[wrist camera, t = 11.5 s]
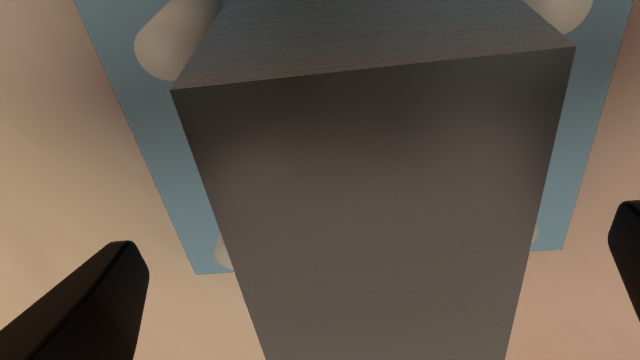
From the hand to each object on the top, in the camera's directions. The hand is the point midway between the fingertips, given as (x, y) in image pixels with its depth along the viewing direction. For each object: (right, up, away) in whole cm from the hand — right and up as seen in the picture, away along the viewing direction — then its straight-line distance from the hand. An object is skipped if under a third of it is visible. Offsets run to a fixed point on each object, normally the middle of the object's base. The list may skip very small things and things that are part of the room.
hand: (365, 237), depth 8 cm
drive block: (0, +3, +5) cm, 6 cm away
